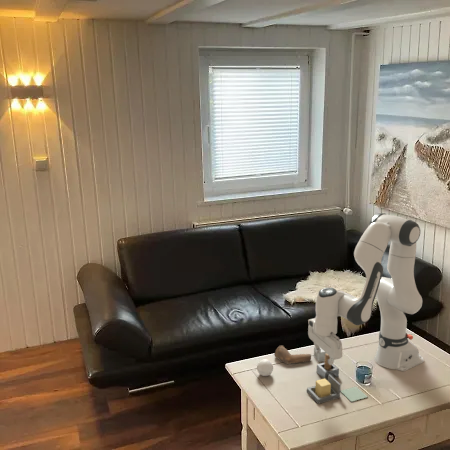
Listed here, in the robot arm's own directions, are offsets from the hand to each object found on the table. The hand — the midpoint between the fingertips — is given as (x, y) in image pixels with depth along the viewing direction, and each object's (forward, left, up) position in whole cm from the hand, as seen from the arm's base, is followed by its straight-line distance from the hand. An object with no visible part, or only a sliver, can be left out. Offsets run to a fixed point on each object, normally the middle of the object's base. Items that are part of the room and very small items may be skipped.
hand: (324, 358), depth 212 cm
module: (0, 0, -18) cm, 18 cm away
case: (0, 0, -18) cm, 17 cm away
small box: (-15, -25, -18) cm, 34 cm away
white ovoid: (+17, -23, -18) cm, 34 cm away
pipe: (-2, -29, -18) cm, 34 cm away
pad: (-12, +5, -18) cm, 22 cm away
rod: (-10, -12, -18) cm, 24 cm away
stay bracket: (-10, -12, -18) cm, 23 cm away
